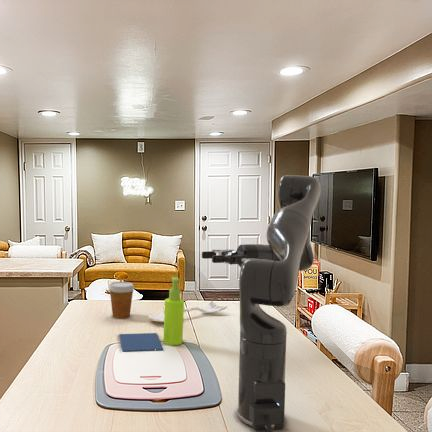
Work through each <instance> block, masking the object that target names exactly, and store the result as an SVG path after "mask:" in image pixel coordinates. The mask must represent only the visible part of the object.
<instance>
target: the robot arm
mask: <svg viewBox="0 0 432 432" xmlns="http://www.w3.org/2000/svg"><path fill="white" fill-rule="evenodd" d="M321 194H322V185H321V182H320V180H319V179H318V178H317V177H315V176H312V175H299V174H286V175H283V176H281V177H280V179H279V182H278V185H277V202H278V207H279V210H277V211H276V212H274V215H273V216H272V217H271V219H270V222H269V224H268V227H267V229H266V241H267V243H268V244H261V243H255V244H254V243H251V244H249V243H248V244H239V245H238V247H237V249H236V250H234V249H211V251H210V250H209V251H201V258H202V259H204V260H205V259H206V260H208V259H209V260H210V259H211V263H213V264H226V265H227V264H229V265H230V266H231V265H238V266H239V267H240V269H239V274H238V275H239V277H238V292H239V327H240V328H239V357H238V358H239V359H238V391H237V392H238V394H237V395H238V397H237V398H238V399H237V417H238V419H239V421H241V422H242V423H243V424H245V425H247V426H249V427H251V428H252V429H253V430H254V431H264V430H266V432H272V430H280V429H281V430H282V429H284V428H285V408H286V360H287V334H288V331H287V327H286V325H285V324H284V323H283V322H282V321H281V320H279V319H277V318H275V317H273V316H272V315H270V314H269V313H267V312H265V310H263V309H262V308H261V306H268V307H275V308H277V307H278V308H285V307H288V306H290V305H291V303H292V302H293V300H294V298H295V294H296V290H297V285H298V279H299V272H300V271H301V272H304V271H307V270H309V269H311V267H313V264H314V261H315V256H314V251H313V248H312V244H311V225H312V220H313V216H314V214H315V211H316V210H317V207H318V204H319V202H320V199H321ZM260 305H261V306H260Z"/></svg>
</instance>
